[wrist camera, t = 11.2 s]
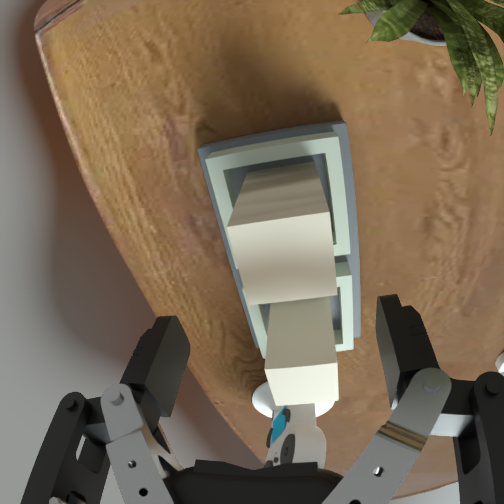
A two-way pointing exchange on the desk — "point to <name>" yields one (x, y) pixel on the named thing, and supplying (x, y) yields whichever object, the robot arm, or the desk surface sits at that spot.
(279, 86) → the desk surface
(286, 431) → the panda figurine
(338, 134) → the base board
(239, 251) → the loose block
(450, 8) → the house plant
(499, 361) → the mounting plate
